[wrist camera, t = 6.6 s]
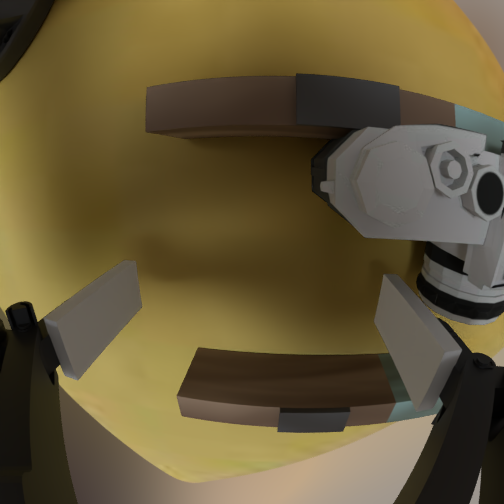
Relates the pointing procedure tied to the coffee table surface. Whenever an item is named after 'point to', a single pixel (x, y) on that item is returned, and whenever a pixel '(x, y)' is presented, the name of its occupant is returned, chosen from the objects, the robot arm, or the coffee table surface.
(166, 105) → the rail
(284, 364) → the rail
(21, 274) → the coffee table surface
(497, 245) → the camera
